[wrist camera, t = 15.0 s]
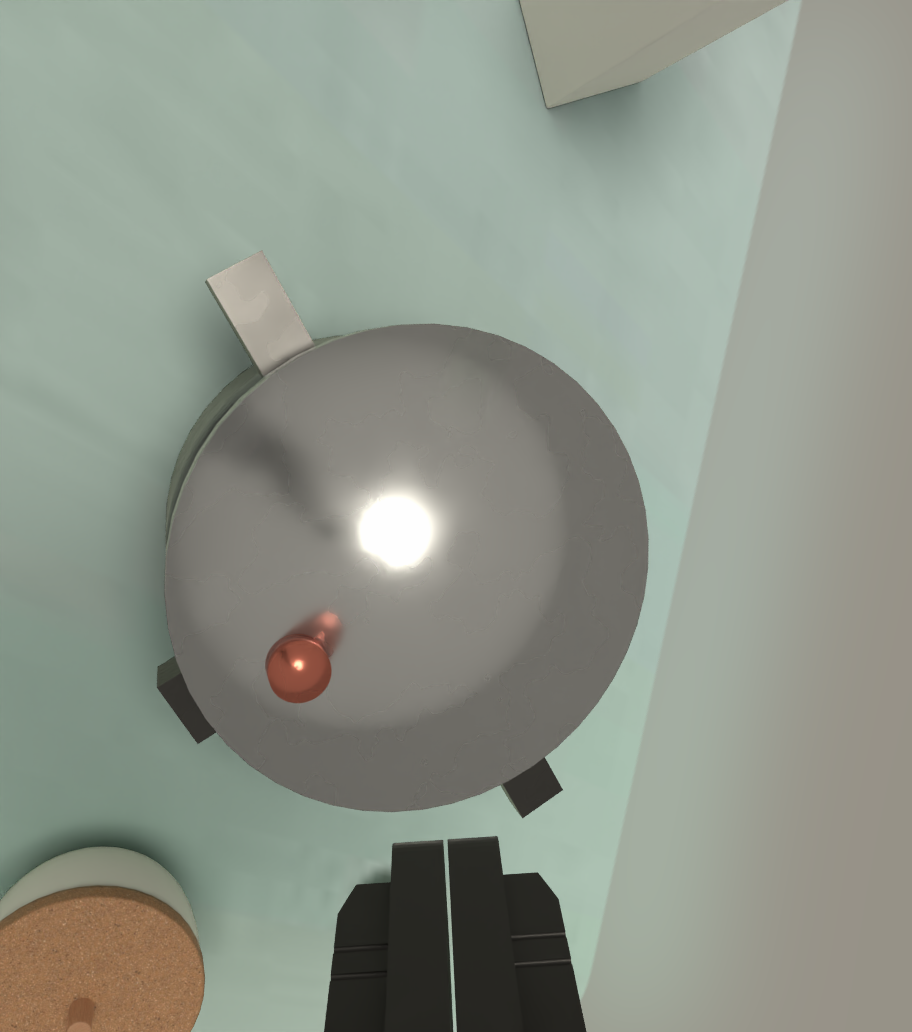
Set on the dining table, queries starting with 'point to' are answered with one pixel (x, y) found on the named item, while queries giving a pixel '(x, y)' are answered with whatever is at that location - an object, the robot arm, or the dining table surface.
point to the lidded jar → (99, 947)
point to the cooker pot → (269, 343)
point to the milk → (622, 39)
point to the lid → (405, 566)
